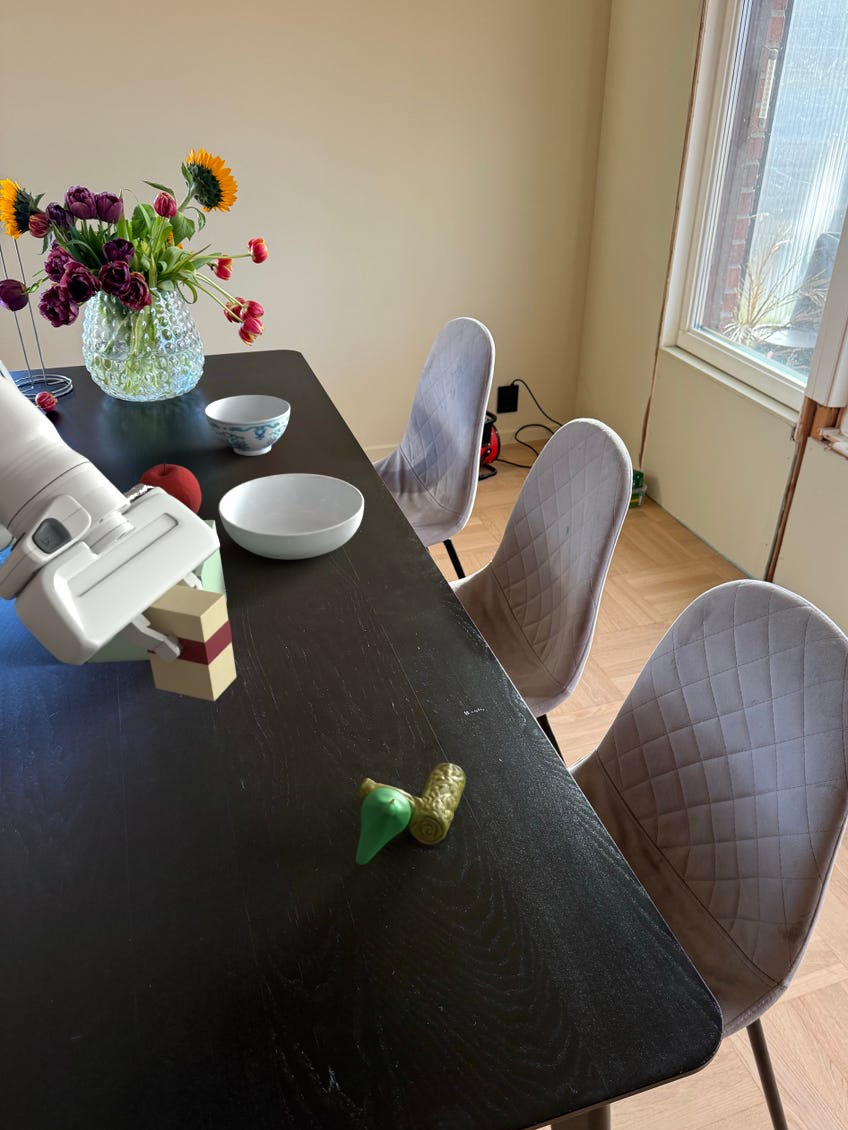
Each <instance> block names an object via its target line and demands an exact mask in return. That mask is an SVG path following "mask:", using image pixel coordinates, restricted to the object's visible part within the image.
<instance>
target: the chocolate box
mask: <svg viewBox="0 0 848 1130" xmlns="http://www.w3.org/2000/svg"><path fill="white" fill-rule="evenodd" d="M141 614H142V615H143V616H144V617H145V618H146V619H147V620H148V621H149V622H150V625H149V626H148V627H147V628H150V629H152V630H154V631H156V632H159V633H161V634H163V635H165V636H167V637H168V636H169V635H170V634H172V633H174V634H175V635H176V636H177V637H178V638H179V640H180V641H182V642H183V643H184V644H185V647H186V648H185V650H184V651H183V652H182V653H181V654H180V655H179V656H178V657H177V658H175V659H174V660H173V661H172V662H171V663H167V662H165V661H164V660H163V659H162V658H161V657H160V656H158V655H157V654H156V653H155V652H154V651H153V650H152V651H151V650H148V649H147V652H149V657H150V660H149V661H150V667H151V671H152V672H151V673H152V676H153V681H154V685H155V689H157V690H162V691H165V692H170V693H175V694H178V695H179V694H180V695H184V696H187V697H193V698H195V699H196V698H197V699H201V700H206V701H211V702H216V700H217V699H218V698H219V697H220V696H221V695H222V693H224V691H226V690H227V688H228V687H229V686H230V685H231V684H232V683H233V682H234V681H235V679H237V669H236V666H235V665H236V664H235V656H234V649H233V636H232V631H231V630H232V629H231V623H230V619H229V615H228V608H227V602H226V600H225V595H224V594H220V593H215V592H210V591H205V590H200V589H195V588H190V587H185V586H180V585H175V586H173V587H172V588H171V589H170V590H169V591H167V592H166V593H165V594H164V595H163V596H161V597H160V598H159V599H158V600H157V601H155V602H154V603H153V604H152V605H151V606H149V607H148V608H147V609H146V610H145V611H143V612H142V613H141Z"/></svg>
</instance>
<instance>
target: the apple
mask: <svg viewBox="0 0 848 1130" xmlns="http://www.w3.org/2000/svg"><path fill="white" fill-rule="evenodd" d="M138 484H144V485H151V486H155V487H160V488H161V489H163V490H164V491H165V492H166V493H167V494H168V495H171V496H172V497H174V498H176V499H177V500H178V501H180V502H181V503H183V504H184V505H185V506H186V507H187V508H189V509H190V510H191V511H192V512H193V513H195V514H196V515H197V513H198V512H199V510H200V507H201V504H202V492H201V487H200V484H199V482H198V479H197V478H196V477H195V475H194V474H193V473H192V471H190V470H189V469H187V468H186V467H184V466H181V465H176V464H170V463H169V464H168V463H167V462H166V460H164V461H162V463H160V464H158V465H154V466H153V467H150V468H149V469H148V470H146V471H145V472H144V473H143V474H142V475H141V476H140V478H139V481H138ZM149 491H150V490H148V491H147V492H149Z"/></svg>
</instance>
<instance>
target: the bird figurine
mask: <svg viewBox="0 0 848 1130" xmlns="http://www.w3.org/2000/svg"><path fill="white" fill-rule="evenodd" d="M360 784H361V785H360V786H359V789H358V795H359V797H360V798H361V799H364V800H363V802H362V804H361V809H360V821H361V822H360V823H361V825H360V834H359V840H358V845H357V849H356V854H355V862H356V864H358V865H360V866H364V865H366V864H368V862H370V861H371V860H372V858H374V857H375V856H376V854H377V853H378V852H379V851H380V850H381V849H382V848H383V847H384V846H385V845H386V844H388V843H389V841H392V839H394V837H396V836H397V835H399V834H400V833H402V832H403V831H404V830H405V829H406V827H407V826H408V829H409V831H410V833H411V835H412V837H413V838H415V839H416V840H417V841H418V842H420V843H421V844H424V845H430V846H431V845H435V844H438V843H440V842H441V841H442V840H444V838H446V835H447V832H448V830H449V828H450V827H451V824H452V821H453V819H454V815H455V812H456V810H457V808H458V806H459V804H460V800H461V798H462V796H463V795H462V794H463V791H464V790H465V788H466V784H467V777H466V774H465V771H464V770H463V769H462V768H461V767H460V766H458V765H456V764H453V763H450V762H442V763H439V764H438V765H435V766H434V767H433V769H432V770H431V772H430V774H429V776H428V779H427V781H426V784H425V786H424V787H423V788H424V789H423V791H422V792H421V794H420V797H418V796H414V795H411V794H410V793H409V792H406V791H405V790H403V789H401V788H398V787H395V786H391V785H388V784H383V783H377V782H375V781H374V780H372V779H370V778H368V777H367V778H364V779H363V781H362V782H361V783H360Z"/></svg>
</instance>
